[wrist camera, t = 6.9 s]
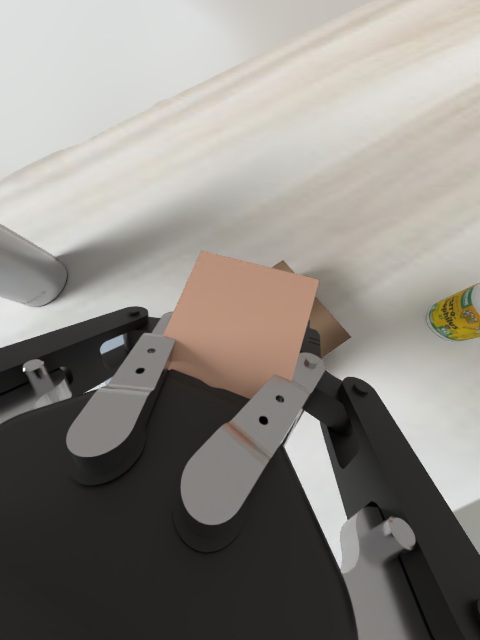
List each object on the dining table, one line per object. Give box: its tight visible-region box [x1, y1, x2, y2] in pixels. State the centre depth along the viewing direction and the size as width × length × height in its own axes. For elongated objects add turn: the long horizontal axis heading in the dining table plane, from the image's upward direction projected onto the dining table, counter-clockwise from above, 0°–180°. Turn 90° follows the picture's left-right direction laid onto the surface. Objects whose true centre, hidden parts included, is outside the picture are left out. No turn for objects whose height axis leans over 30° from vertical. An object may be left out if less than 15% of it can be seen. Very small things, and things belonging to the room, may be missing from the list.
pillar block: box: [163, 251, 319, 399], centre depth 12 cm, size 5×5×10 cm
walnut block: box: [272, 261, 351, 358], centre depth 26 cm, size 12×12×6 cm
